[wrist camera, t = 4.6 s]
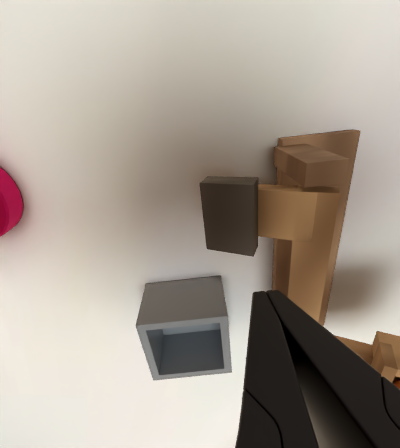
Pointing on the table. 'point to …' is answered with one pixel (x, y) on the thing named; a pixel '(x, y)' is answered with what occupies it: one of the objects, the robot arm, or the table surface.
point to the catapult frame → (310, 177)
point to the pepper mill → (9, 203)
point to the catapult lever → (301, 245)
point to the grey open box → (185, 328)
